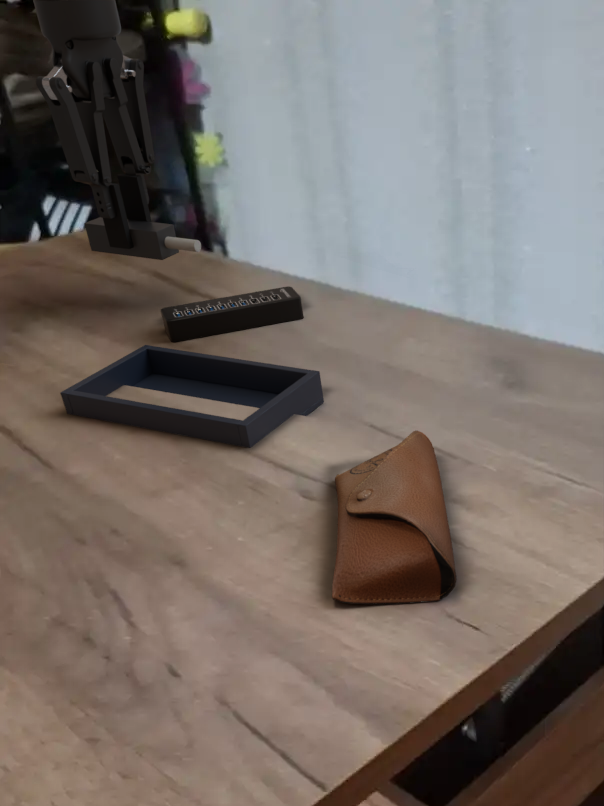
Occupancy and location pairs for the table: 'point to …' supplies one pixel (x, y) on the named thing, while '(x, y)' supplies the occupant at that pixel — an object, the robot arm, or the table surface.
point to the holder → (197, 394)
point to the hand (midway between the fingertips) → (132, 241)
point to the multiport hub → (231, 313)
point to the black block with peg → (141, 240)
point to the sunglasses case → (393, 529)
